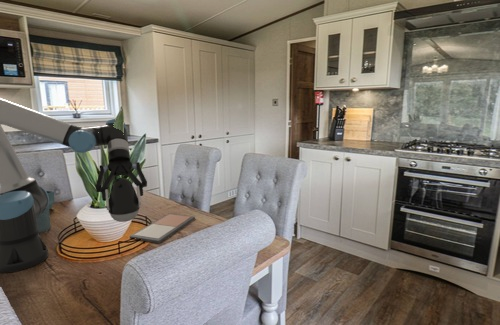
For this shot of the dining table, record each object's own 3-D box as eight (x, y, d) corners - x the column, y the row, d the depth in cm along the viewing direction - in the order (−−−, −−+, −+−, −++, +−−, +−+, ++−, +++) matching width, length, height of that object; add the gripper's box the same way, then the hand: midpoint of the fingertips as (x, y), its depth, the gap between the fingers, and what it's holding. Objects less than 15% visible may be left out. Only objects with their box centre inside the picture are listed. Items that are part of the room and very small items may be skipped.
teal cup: (38, 235, 126) (33, 207, 124) (18, 234, 128) (13, 206, 126) (58, 225, 136) (54, 199, 134) (39, 224, 138) (34, 199, 136)
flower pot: (28, 212, 155) (25, 195, 154) (44, 206, 164) (41, 190, 162) (41, 213, 153) (38, 196, 151) (57, 207, 161) (54, 191, 159)
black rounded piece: (106, 226, 103) (101, 182, 100) (113, 215, 113) (109, 175, 110) (137, 223, 105) (134, 180, 102) (142, 213, 115) (139, 173, 112)
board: (159, 243, 116) (158, 240, 116) (129, 238, 121) (129, 235, 120) (194, 218, 140) (194, 216, 139) (169, 215, 145) (168, 213, 144)
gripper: (149, 157, 123) (157, 206, 112) (87, 162, 114) (89, 215, 103) (149, 145, 118) (158, 196, 106) (84, 149, 109) (86, 205, 97)
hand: (124, 205), depth 105 cm, fingers closed on black rounded piece, 9 cm apart
